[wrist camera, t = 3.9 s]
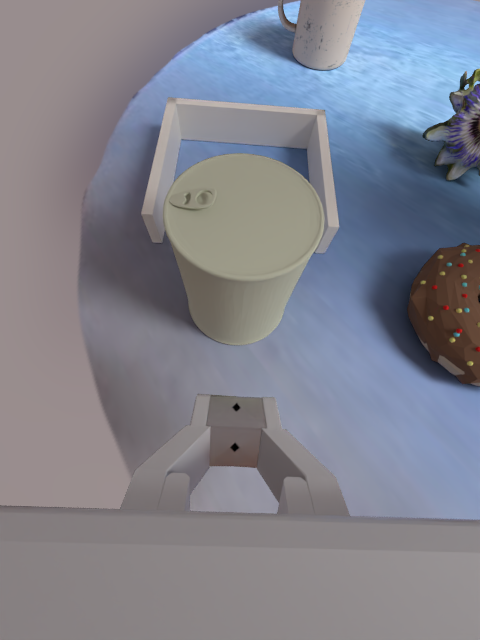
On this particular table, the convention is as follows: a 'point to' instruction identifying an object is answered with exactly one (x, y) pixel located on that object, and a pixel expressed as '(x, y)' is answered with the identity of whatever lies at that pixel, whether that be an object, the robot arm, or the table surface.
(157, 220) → the tray
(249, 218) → the can
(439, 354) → the donut
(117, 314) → the table surface
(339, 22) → the teacup with lid
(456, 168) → the passion flower
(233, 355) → the table surface
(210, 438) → the robot arm
